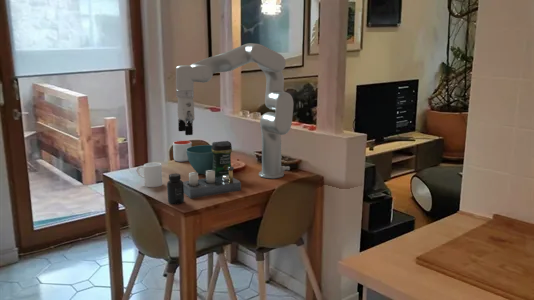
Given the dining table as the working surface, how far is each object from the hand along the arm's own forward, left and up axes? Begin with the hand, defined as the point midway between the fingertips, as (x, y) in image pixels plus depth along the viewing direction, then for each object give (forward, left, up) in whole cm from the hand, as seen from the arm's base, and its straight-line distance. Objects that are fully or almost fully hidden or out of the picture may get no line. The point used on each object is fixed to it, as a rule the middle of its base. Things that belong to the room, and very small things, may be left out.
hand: (185, 133), depth 231 cm
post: (-17, +9, -23) cm, 30 cm away
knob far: (-1, +5, -23) cm, 23 cm away
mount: (-9, +5, -27) cm, 29 cm away
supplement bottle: (+10, +13, -27) cm, 31 cm away
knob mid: (-9, +5, -23) cm, 25 cm away
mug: (+13, -17, -27) cm, 34 cm away
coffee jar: (-21, -10, -27) cm, 36 cm away
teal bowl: (-18, -25, -27) cm, 41 cm away
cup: (-16, -54, -27) cm, 62 cm away
